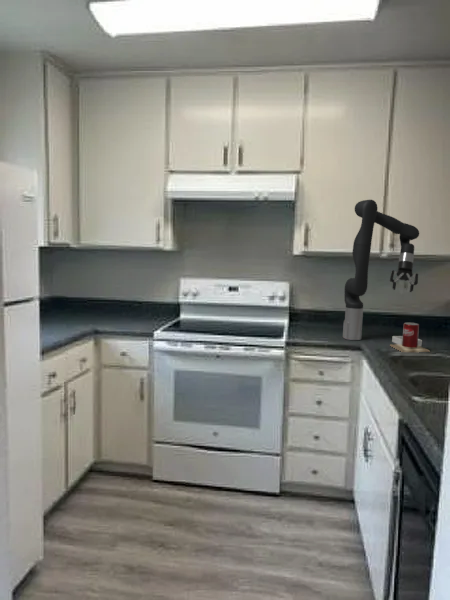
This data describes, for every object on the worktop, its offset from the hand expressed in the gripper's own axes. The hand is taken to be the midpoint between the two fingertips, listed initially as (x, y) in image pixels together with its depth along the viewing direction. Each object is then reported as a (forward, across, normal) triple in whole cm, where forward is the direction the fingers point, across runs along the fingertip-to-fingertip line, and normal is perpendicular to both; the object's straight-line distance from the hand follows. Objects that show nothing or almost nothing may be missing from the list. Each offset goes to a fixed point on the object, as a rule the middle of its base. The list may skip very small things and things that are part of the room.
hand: (402, 290), depth 266 cm
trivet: (+33, +4, -15) cm, 37 cm away
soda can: (+32, +4, -15) cm, 36 cm away
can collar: (+29, +5, -1) cm, 29 cm away
